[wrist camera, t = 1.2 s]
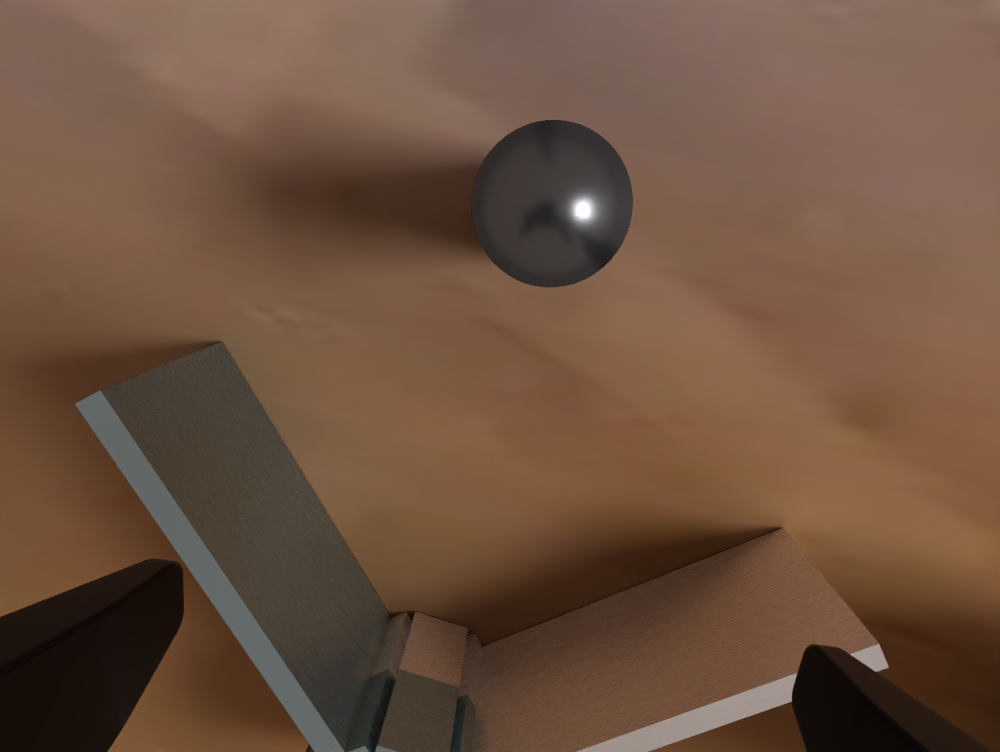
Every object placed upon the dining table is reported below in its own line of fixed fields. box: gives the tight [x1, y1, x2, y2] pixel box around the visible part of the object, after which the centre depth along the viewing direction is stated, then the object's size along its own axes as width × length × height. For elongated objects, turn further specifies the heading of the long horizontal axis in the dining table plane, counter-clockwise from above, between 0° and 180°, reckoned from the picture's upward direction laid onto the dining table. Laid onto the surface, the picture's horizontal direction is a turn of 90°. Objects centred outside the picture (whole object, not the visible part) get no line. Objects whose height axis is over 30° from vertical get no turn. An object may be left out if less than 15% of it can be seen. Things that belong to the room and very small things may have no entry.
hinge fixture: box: [75, 341, 889, 752], centre depth 19 cm, size 18×18×6 cm
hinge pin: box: [471, 120, 633, 287], centre depth 15 cm, size 3×3×8 cm
